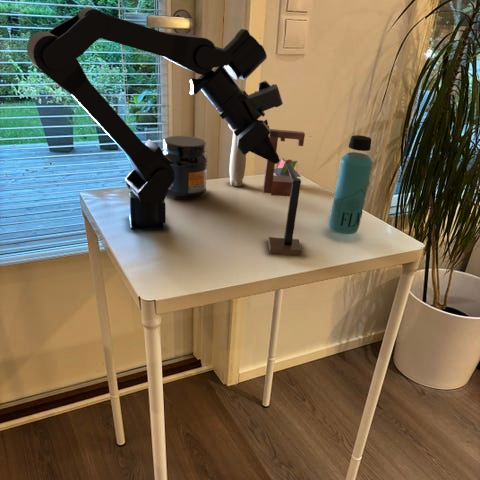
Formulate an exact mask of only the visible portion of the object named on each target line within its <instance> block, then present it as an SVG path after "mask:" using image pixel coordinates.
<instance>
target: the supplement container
mask: <svg viewBox="0 0 480 480" xmlns="http://www.w3.org/2000/svg"><path fill="white" fill-rule="evenodd" d="M163 150H164V151H163V153H164V155H165V156H166V157H167V158H168V159H170V160H171V161H172V162H173V164H171V166H172V167H173V169H174V171H175V177H174V181H173V183H172V185H171V186H170V187H169V189H168V192H167V194H166V196H168V197H170V198H173V199H177V200H195V199H199V198H201V197H203V196H204V195H205V194H206V192H207V170H208V161H209V157H208V155H207V153H206V152H207V142H206V141H205V140H204V139H202V138H199V137H196V136H191V135H190V136H189V135H171V136H168V137H165V138H164V139H163Z"/></svg>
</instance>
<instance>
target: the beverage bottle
mask: <svg viewBox="0 0 480 480" xmlns="http://www.w3.org/2000/svg"><path fill="white" fill-rule="evenodd" d="M348 149H351V150H354V151H351V152H350V151H349V152H348V153H346V154H344V155H343V156H341V158H340V163H339V168H338V174H337V180H336V184H335V190H334V194H333V199H332V204H331V209H330V214H329V220H328V228H329V229H330V230H331V231H333V232H335V233H337V234H342V235H353V234H356V233H357V232H358V230H359V228H360V226H361V220H362V218H363V213H364V208H365V203H366V197H367V193H368V188H369V186H370V180H371V174H372V173H371V172H372V167H373V165H374V163H373V160H372V159H371V157H370V156H369V155H368V154H366V153H362V152H369V151H371V149H372V138H371V137H370V136H366V135H360V134H355V135H351V136H350V139H349V142H348ZM356 151H360V152H356Z"/></svg>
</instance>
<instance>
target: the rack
mask: <svg viewBox="0 0 480 480" xmlns="http://www.w3.org/2000/svg"><path fill="white" fill-rule="evenodd" d="M286 160H287V161H286V162H285V165H286V167H287V168H288V172H289V175H290V178H291V181H292V186H291V193H290V197H289V201H288V207H287V217H286V223H285V230H284V237H273V236H269V237H268V240H267V244H268V251H269V252H268V253H269V254H270V255H283V256H297V257H300V256H302V252H303V249H302V245H301V241H300V239H299V238H294V231H295V225H296V217H297V211H298V206H299V198H300V191H301V186H302V179H301V178H299V177H297V176H296V173H295V171H296V170H295V167H293V161H294V160H293V159H286Z"/></svg>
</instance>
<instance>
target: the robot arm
mask: <svg viewBox="0 0 480 480" xmlns="http://www.w3.org/2000/svg"><path fill="white" fill-rule="evenodd" d="M100 39H101V40H105V41H108V42H112V43H116V44H118V45H121V46H126V47H129V48H133V49H135V50H140V51H144V52H147V53H151V54H153V55H157V56H160V57H162V58H164V59H166V60H168V61H170V62H172V63H173V64H175V65H178V66H179V67H181V68H183V69H185V70H188V71H191V72H193V73H195V74H198V75H199V76H198V78H195V77H193V78H190V79H189V84H190V89H189V94H190V96H194V95H197V94H198V93H199V92H200V91H201V92H202V93H203V94H204V96H205V97H206V98H207V99H208V100H209V102H210V103H211V105H212V106H214V108H215V109H216V110H217V112H218V113H219V116H220V118H221V120H225V121H226V123H227V124H228V126H229V125H230V126H231V127H232V128H233V130H234V133H235V135H236V136H238V142H237V143H238V148H239V149H240V151H241V152H242V153H243V154H244V155H245V154H246V155H247V154H248V153H249V152H250V153H252V154H254V155H256V156H259V157H261V158H263V159H265V160H266V161H267V160H269V161H271V162H273V163H275V165H277V163H278V162H279V161H280V159H281V158H280V156H279V154H278V153H277V151H276V152H275V150H274V148H273V146H272V144H271V142H270V140H269V135H270V129H271V128H270V125H269V122H268V119H264V120H262V119H260V118H261V117H264V116H266V113H265V111H267V110H270V109H274V108H278V107H281V106H282V105H283V100H282V96H281V93H280V90H279V87H278V85H277V84H276V83H275V84H274V83H273V84H271V85H270V83H268V81H267V80H263V81H261V82H259V83H258V87H257V90H255V91H254V92H253V93H249V94H248V93H247V91H246V90H243V89H241V88H240V87H239V86H238V84H237V83H236V82H235V80H236V81H238V80H239V79H240V80H242V81H246V80H247V79H248V78H249V77H250V76H251V75H252V74H253V73H254V72H255V71H256V70H257V69H258V68H259V67H260V65H262V63H264V62H265V61H266V59H268V56H267V52H266V50H265V48H264V46H263V45H262V44H260V42H259V41H258V40H257V39H256V38H255V37H253V35H251V33H250V32H249V30H248V29H244V28H240V30H238V32H237V33H235V36H234V37H233V38H232V39H231V40H230V41H229V42H228V43H227V44H226V45H225V46H224V47H223V48H222V47H219V46H216V45H215V43H214V41H212V40H210V39H209V38H206V37H202V36H198V35H196V34H190V33H182V32H167V31H159V30H157V29H154V28H151V27H147V26H144V25H142V24H138V23H135V22H132V21H129V20H126V19H122V18H119V17H117V16H113V15H110V14H106V13H105V12H103V11H102V10H100V9H96V8H93V7H88V6H87V7H84V8H82V9H81V10H80V11H79V12H77V14H75V15H74V16H72V17H70V18H68V19H66V20H65V21H63V22H61V23H59V24H58V25H56V26H54V27H53V28H51V29H50V30H49V31H44V30H41V31H37V32H34V34H32V35H31V36H30V37H29V39H28V40H27V43H26V52H27V53H26V55H27V57H28V59H29V60H30V62H31V63H32V64H33V66H35V67H36V68H37V69H38V70H39V71H40V72H41V73H43V74H44V75H45V76H47V77H48V78H49V79H50V80H52V81H53V82H54V83H56V84H57V85H58V86H59V87H60V88H62V89H63V90H64V91H66V92H67V93H68V94H70V95H71V96H72V97H73V98H74V100H75V101H77V103H78V104H79V105H80V106H81V107H82V108H83V109H84V110H85V111H86V113H88V114H89V116H90V117H91V118H92V119H93V121H94V122H96V123H97V124H98V125H99V127H101V128H102V130H103V131H104V132H105V133H106V134H107V135H108V136H109V137H110V139H111V140H112V141H114V143H115V144H116V145H117V146H118V147H119V149H121V150H122V151H123V153H124V154H125V157H126V158H127V160H128V162H129V164H130V166H131V167H132V170H131V171H130V172H129V173H128V174H127V175H126V177H125V178H124V182H125V185H126V187H127V189H128V190H130V191H129V192H128V193H129V195H128V196H129V226H130V230H132V231H150V230H155V231H156V230H164V229H165V225H164V224H166V216H167V215H166V207H167V206H166V202H165V200H166V197H167V195H166V194H167V192H168V189H169V187H170V186H171V185H172V183H173V181H174V177H175V171H174V169H173V167H172V166H171V164H173V162H172V161H171V160H170V159H168V158H167V157H166V156H165V155H164V153H163V152H164V151H163V150H162V148H161V147H160V146H159V145H158V144H156V143H155V142H154V141H152V140H151V139H150V138H148V139H147V141H146V142H145V143H144V142H142V139H140V138H139V137H138V135H137V134H136V133H135V132H134V131H133V130H132V128H130V127H129V125H128V124H127V123H126V122H125V120H124V119H123V118H122V117H121V116H120V114H118V113H117V111H116V110H115V109H114V108H113V107H112V106H111V104H110V103H109V102H108V101H107V99H105V98H104V96H103V95H102V94H101V93H100V92H99V91H98V89H97V88H96V87H95V86H94V85H93V84H92V83H91V82H90V80H89V78H88V76H87V75H86V73H85V70H84V69H83V67H82V65H81V63H80V61H79V60H78V58H79V57H81V56H82V55H83V54H84V53H85V52H86V51H87V50H89V48H90V47H91V46H92V45H93V44H95V42H97V41H98V40H100Z"/></svg>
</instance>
